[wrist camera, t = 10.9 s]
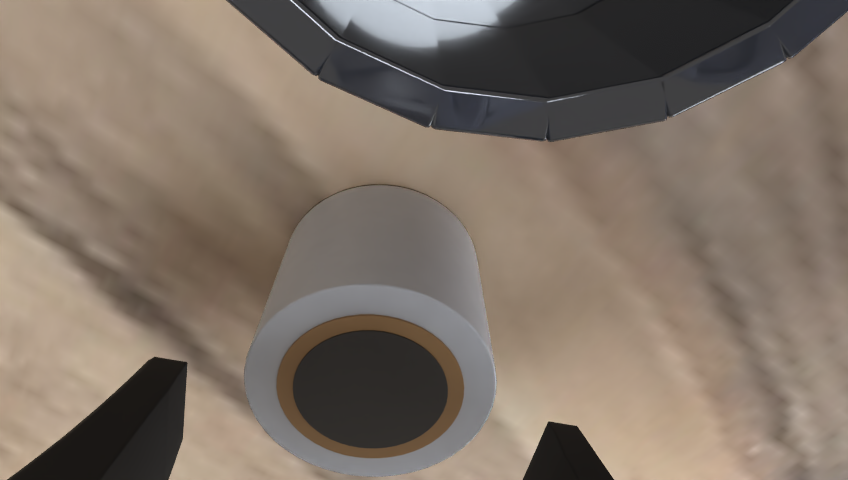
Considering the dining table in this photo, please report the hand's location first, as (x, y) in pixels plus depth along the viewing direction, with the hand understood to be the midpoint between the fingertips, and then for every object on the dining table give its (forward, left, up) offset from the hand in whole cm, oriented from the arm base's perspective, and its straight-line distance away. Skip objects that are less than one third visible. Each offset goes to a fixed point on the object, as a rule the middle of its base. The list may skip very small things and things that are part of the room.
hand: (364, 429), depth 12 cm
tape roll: (0, 0, -6) cm, 6 cm away
